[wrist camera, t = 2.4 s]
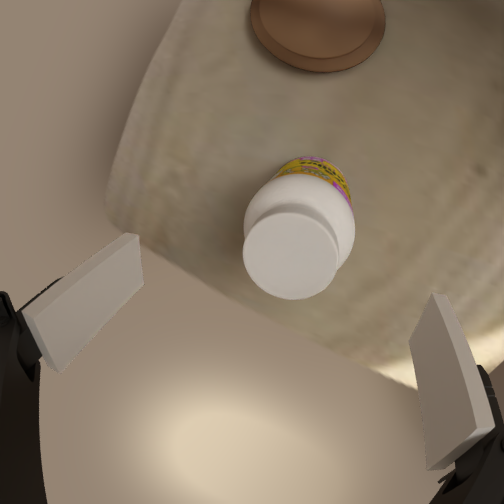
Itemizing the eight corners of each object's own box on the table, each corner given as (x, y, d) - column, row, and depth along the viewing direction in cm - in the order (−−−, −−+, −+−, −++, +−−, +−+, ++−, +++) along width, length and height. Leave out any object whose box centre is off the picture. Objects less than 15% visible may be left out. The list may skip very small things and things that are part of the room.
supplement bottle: (364, 190, 23) (389, 260, 12) (315, 241, 27) (296, 336, 16) (305, 138, 23) (278, 161, 12) (258, 194, 26) (200, 261, 15)
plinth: (258, -34, 16) (252, -43, 14) (383, -22, 14) (386, -31, 12) (248, 66, 21) (241, 62, 19) (379, 83, 19) (383, 81, 17)
